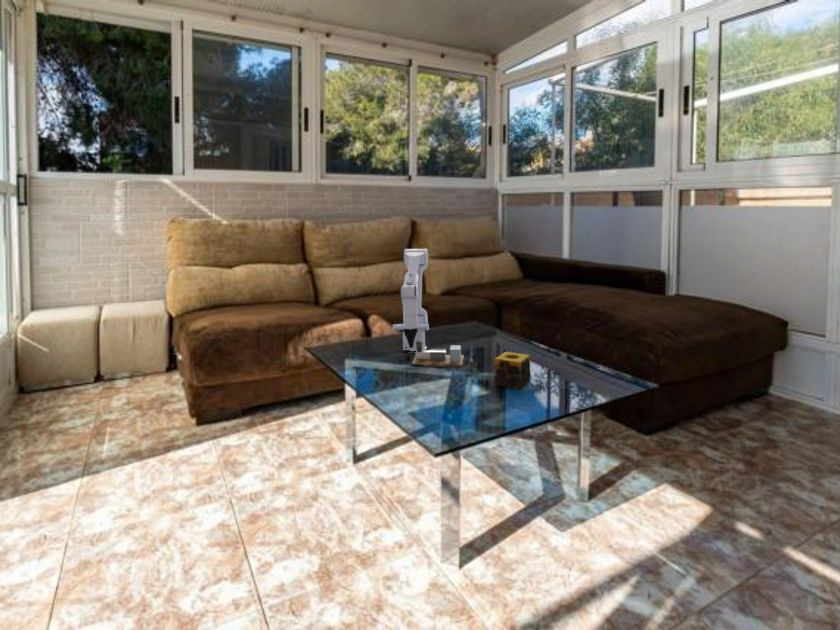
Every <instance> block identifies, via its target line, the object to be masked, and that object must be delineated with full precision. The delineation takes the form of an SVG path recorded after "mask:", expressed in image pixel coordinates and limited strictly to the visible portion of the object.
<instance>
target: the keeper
mask: <svg viewBox="0 0 840 630" xmlns="http://www.w3.org/2000/svg"><path fill="white" fill-rule="evenodd" d="M449 355H450V362H460V360H461V355H462V346H461V345H458V344H456V345H453V344H452V345H450V347H449Z"/></svg>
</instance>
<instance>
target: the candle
mask: <svg viewBox="0 0 840 630" xmlns="http://www.w3.org/2000/svg"><path fill="white" fill-rule="evenodd" d="M494 364H495V365H494V366H495V367H494V377H493V379H494V380H493V381H494V383H493V384H494V385H495V386H499V387H504V388H511V387H513V388H511V389H515V388H517V389H516V390H522V389H523V388H524V387H526V385H527V384H528V383H529V381H530V382H531V355H530V354H526V353H518V352H509V351H504V352H502V353H501V354H500V355H498V356H497V357H495V358H494ZM527 382H528V383H527Z"/></svg>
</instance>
